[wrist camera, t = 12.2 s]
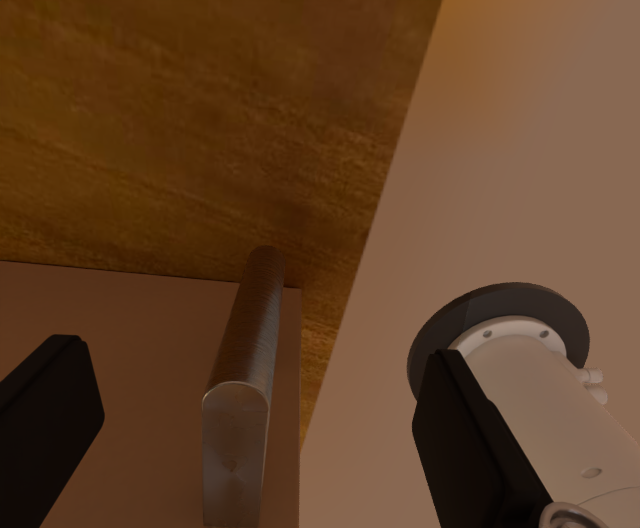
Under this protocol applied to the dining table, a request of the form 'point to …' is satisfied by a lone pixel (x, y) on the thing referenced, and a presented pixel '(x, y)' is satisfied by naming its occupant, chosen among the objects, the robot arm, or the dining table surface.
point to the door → (173, 391)
